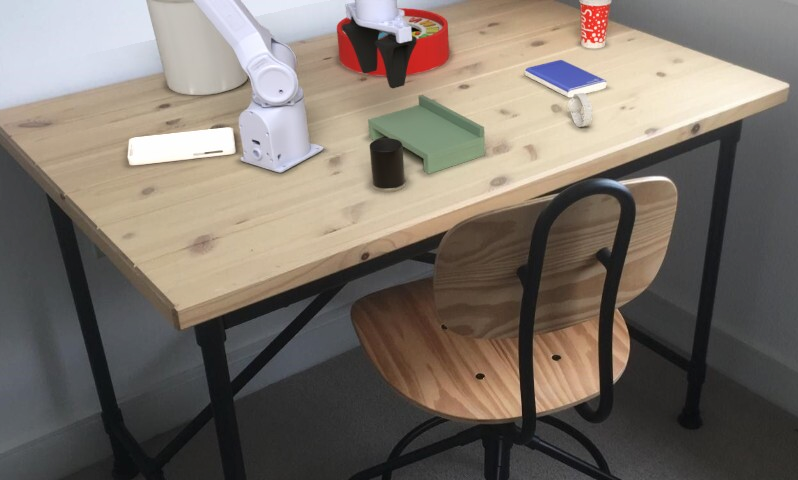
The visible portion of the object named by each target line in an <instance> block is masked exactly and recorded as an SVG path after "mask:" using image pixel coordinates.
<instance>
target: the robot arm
mask: <svg viewBox="0 0 798 480" xmlns="http://www.w3.org/2000/svg"><path fill="white" fill-rule="evenodd" d="M193 1H194V2H195V3H196V4H197V6H198V7H199V8H200V9H201V11H202V12H203V13H204V14H205V15H206V17H207V18H208V19H209V20H210V22H211V23H212V24H213V25H214V26H215V28H216V29H217V30H218V31H219V32H220V34H221V35H222V36H223V37H224V39H225V40H226V41H227V42H228V43H229V45H230V46H231V47H232V48H233V50H234V52H235V54H236V56H237V58H238V60H239V62H240V65H241V67H242V68H243V70H244V71H245V72H246V73H247V75H248V78H249V81H250V85H251V89H252V92H251V102H250V104H249V105H248V107H247V108H245V109H244V110H242V111H241V113H240V114H239V117H238V129H239V135H240V140H241V146H242V152H243V156H241V157H240V162H243V163H247V164H249V165H253V166H256V167H260V168H262V169H266V170H268V171H272V172H276V173H279V174H280V173H281V174H282V173H284V172H285V171H287V170H289V169H291V168H293V167H294V166H296V165H298V164H300V163H302V162H304V161H307V159H309V158H311V157H313V156H315V155H316V154H319V153H320V152H323V151H324V146H322V145H319V144H316V143H313V142H311V141H310V133H309V125H308V117H307V108H306V101H305V93H304V90H303V88H302V87H301V86H299V78H298V73H297V66H298V59H297V55H296V53H295V51H294V50H293V49H292V48H291V47H290V45H288V44H287V43H284V42H283V41H280V40H279V39H277V38H276V37H275V36H274V35H273V34H272V32H271V31H270V30H269V29H268V28H266V27H265V26H264V25H262V24H261V23H259V22H258V20H257V18H255V16H254V15H253V14H252V13H251V12H250V10H249V9H248V7H246V5H245V4H244V2H243V1H242V0H193ZM344 8H345V13H346V14H345V15H346V17H347V18H348V19H351V21H350V23H347V24H344V25H342V29H343V31H344V32H345V33H346V35H347V37H348V38H349V40H350V42H351V44H352V46H353V48H354V50H355V53H356V56H357V59H358V62H359V65H360V67H361V70H362V72H363V73H369V72H373V71H376V70H377V63H378V56H377V48H378V49H379V51H380V54H381V56H382V59H383V62H384V65H385V70H386V76H385V77H386V81H387V84H388V86H389V88H390V89H396V88H400V87H405V83H406V77H407V75H406V72H407V67H408V63H409V59H410V56H411V54H412V51H413V49H414V47H415V45H416V44H417V38H416V37H414V36H412V31H411V26H409V25H407V24H406V23H405V21H404V20H403V18H402V17H403V16H404V15H405V14H404V11H403V10H401V9H398V8H399V7H398V1H397V0H354V2H351V3H347V4H345V7H344ZM380 31H381V32H383V33H386V34H388V38H385V39H381V40H378V37H379V32H380ZM363 73H362V74H363Z"/></svg>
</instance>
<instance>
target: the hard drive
mask: <svg viewBox="0 0 798 480" xmlns="http://www.w3.org/2000/svg"><path fill="white" fill-rule="evenodd" d="M524 73H525V76H526V77H528V78H529V79H531V80H533V81H535V82H538V83H539V84H541V85H543V86H545V87H547V88H550V89H551V90H553V91H555V92H557V93H559V94H561V95H563V96H565V97H566V98H570V99H571V98H572V97H573V95H574V94H579V93H585V94H586V95H587V94H590V93H593V92H598V91H601V90H605V89H606V88H607V80H606V79H604V78H602V77H600V76H598V75H595V74H593V73H591V72H590V71H587V70H584V69H582V68H580V67H578V66H576V65H574V64H572V63H569V62H567V61H565V60H563V59H558V60H553V61H550V62H546V63H541V64H537V65H533V66H529V67H526V68H525V71H524Z"/></svg>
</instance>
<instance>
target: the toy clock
mask: <svg viewBox="0 0 798 480" xmlns="http://www.w3.org/2000/svg"><path fill="white" fill-rule="evenodd" d="M397 8H398V9H401V10H403V11H404V14H405V15H404V16H403V17H402V18H403V20H404V21H405V23H406V24H407V25H409V26H411V31H412V36H414V37H416V38H417V44H416V45H415V47H414V49H413V51H412V54H411V56H410V59H409V63H408V67H407V72H406V76H410V75H411V76H412V75H417V74H421V73H425V72H429V71H432V70H434V69H437V68H440V67H441V66H442V65H444V64H445V63H446V62H447V61H448V60H449V58H450V41H449V23H448V20H447V19H446V18H445V17H444V16H443V15H440V14H438V13H435V12H432V11H429V10H424V9H417V8H407V7H406V8H405V7H404V8H403V7H402V8H401V7H397ZM350 21H351V19H348V18H347V16H346V17H344V18H343V19H341V20H340V21H339V22H338V23H337V25H336V34H337V46H338V56H339V63H340V64H341V65H342V66H343V67H344V68H346V69H347V70H349V71H353V72H355V73H359V74H362V75H369V76H378V77H387V76H386V70H385V65H384V62H383V59H382V56H381V54H380V51H379V49H378V48H377V56H378V63H377V70H376V71H373V72H369V73H363V72H362V70H361V67H360V65H359V62H358V59H357V56H356V53H355V50H354V48H353V46H352V44H351V42H350V40H349V38H348V37H347V35H346V33H345V32H344V31H343V29H342V25H344V24H347V23H350ZM385 38H388V34H386V33H383V32H381V31H380V32H379V37H378V40H381V39H385Z"/></svg>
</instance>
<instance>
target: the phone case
mask: <svg viewBox="0 0 798 480" xmlns="http://www.w3.org/2000/svg"><path fill="white" fill-rule="evenodd" d="M127 147H128V148H127V160H128V164H129V166H142V165H151V164H152V165H153V164H159V163H160V164H161V163H167V162H178V161H185V160H186V161H187V160H193V159H202V158H209V157H210V158H212V157H220V156H229V155H234V154H236V153H237V147H236V141H235V133H234V128H233V127H228V126H227V127H219V128H210V129H201V130H191V131H183V132H182V131H181V132H173V133H163V134H153V135H144V136H135V137H131V138H129V139H128V146H127ZM221 151H222V152H221Z"/></svg>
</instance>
